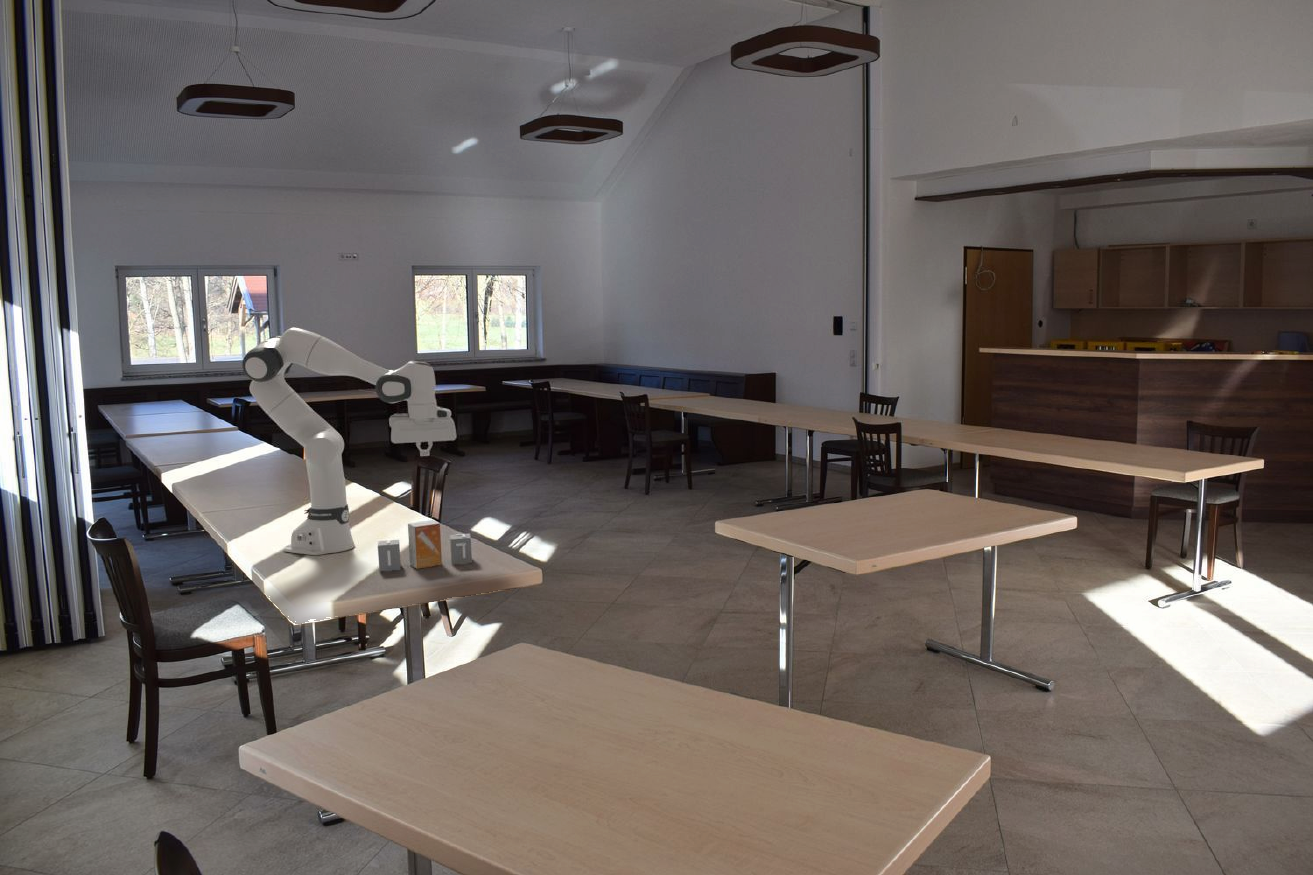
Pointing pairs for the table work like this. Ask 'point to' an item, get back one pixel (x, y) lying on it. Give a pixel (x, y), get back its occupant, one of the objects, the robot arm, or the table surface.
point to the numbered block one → (389, 555)
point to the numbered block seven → (460, 548)
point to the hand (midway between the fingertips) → (425, 455)
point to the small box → (424, 544)
